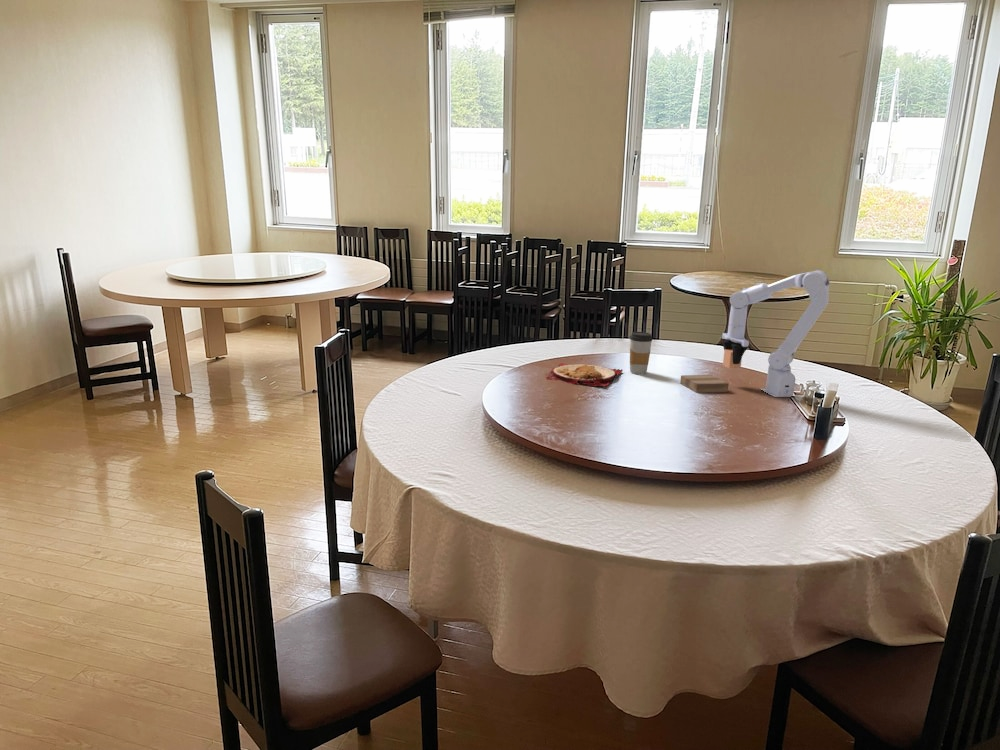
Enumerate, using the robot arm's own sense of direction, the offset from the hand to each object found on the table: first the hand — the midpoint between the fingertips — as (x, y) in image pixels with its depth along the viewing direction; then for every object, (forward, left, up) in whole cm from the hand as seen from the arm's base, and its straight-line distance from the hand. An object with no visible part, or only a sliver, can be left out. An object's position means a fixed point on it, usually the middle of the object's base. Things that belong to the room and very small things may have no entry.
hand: (732, 362), depth 254 cm
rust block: (0, 0, -2) cm, 2 cm away
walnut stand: (-3, +12, -8) cm, 15 cm away
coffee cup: (+20, +27, -9) cm, 35 cm away
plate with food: (+16, +51, -9) cm, 54 cm away
